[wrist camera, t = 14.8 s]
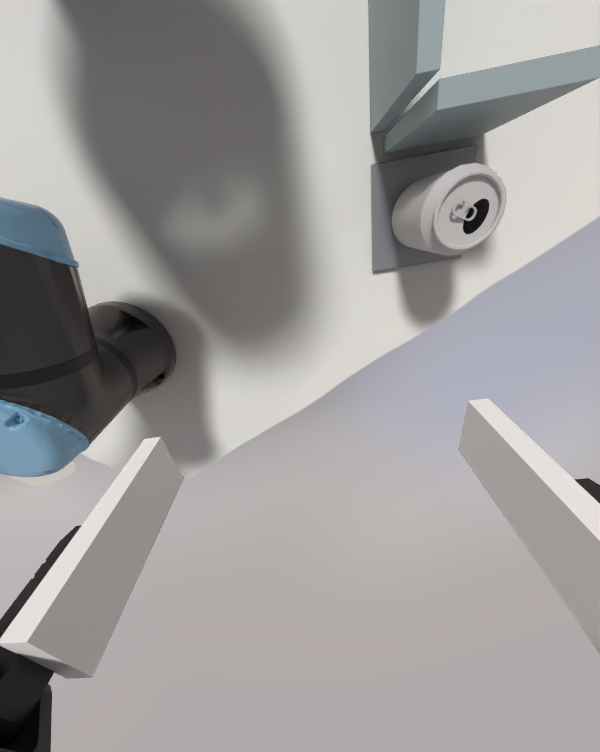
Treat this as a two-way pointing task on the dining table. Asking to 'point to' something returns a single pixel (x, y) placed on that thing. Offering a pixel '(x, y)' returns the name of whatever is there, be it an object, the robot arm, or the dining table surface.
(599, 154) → the dining table surface
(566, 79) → the screen
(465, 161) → the coaster
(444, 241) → the can
